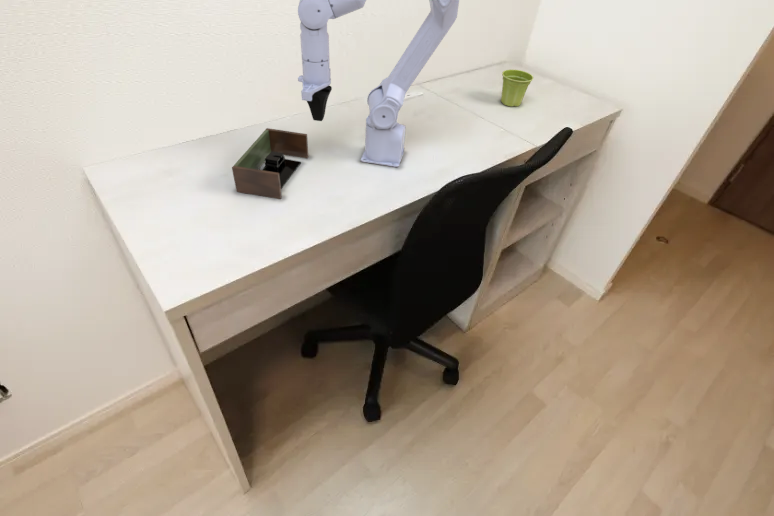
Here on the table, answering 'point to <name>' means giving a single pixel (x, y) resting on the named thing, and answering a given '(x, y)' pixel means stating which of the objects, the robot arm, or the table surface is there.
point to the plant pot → (514, 86)
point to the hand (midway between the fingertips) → (318, 119)
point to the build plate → (280, 166)
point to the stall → (254, 157)
